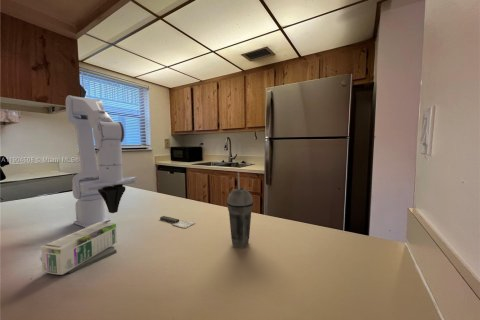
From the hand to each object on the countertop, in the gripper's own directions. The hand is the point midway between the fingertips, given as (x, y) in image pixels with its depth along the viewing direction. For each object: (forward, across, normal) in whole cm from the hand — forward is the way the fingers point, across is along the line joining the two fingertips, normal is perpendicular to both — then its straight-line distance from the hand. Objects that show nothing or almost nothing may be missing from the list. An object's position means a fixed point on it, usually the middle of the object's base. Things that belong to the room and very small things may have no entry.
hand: (113, 212), depth 59 cm
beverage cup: (+9, +16, -33) cm, 37 cm away
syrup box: (+5, -2, -1) cm, 5 cm away
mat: (+8, -8, 0) cm, 12 cm away
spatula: (+8, +18, -5) cm, 21 cm away
